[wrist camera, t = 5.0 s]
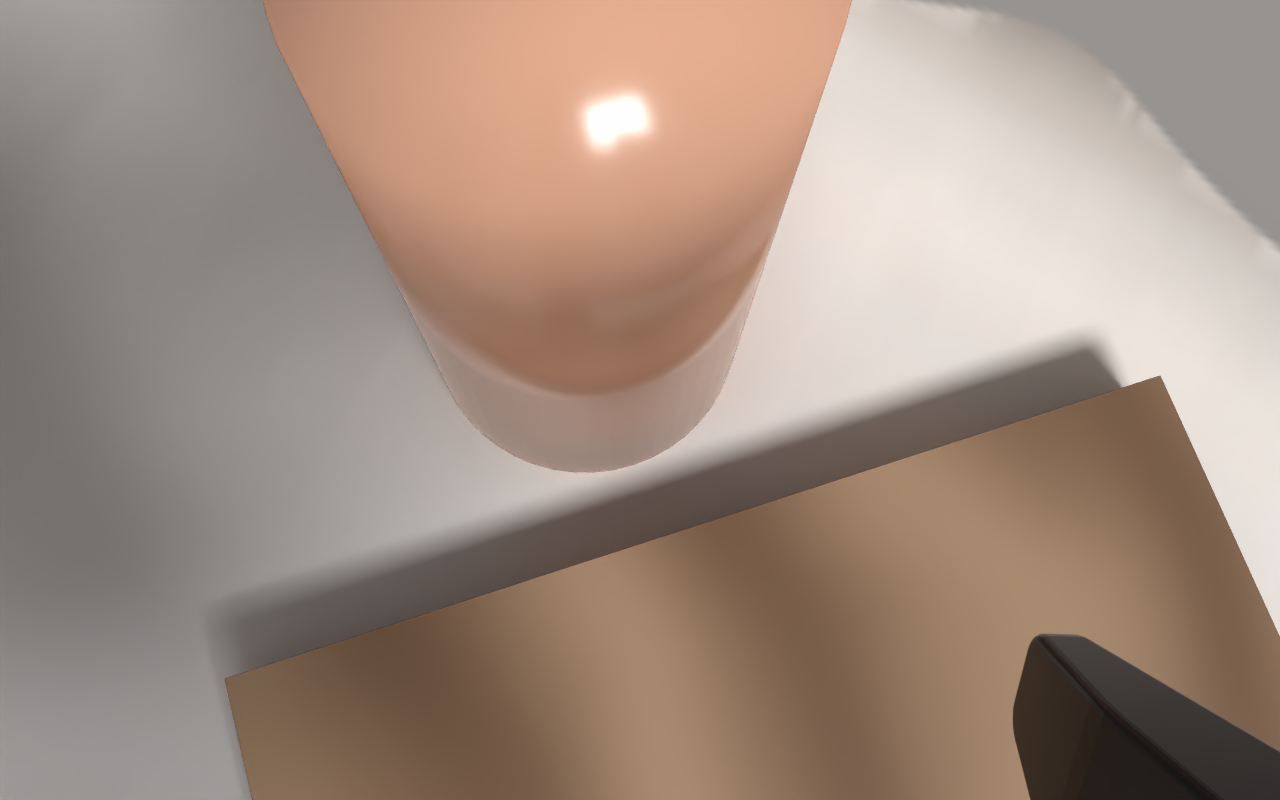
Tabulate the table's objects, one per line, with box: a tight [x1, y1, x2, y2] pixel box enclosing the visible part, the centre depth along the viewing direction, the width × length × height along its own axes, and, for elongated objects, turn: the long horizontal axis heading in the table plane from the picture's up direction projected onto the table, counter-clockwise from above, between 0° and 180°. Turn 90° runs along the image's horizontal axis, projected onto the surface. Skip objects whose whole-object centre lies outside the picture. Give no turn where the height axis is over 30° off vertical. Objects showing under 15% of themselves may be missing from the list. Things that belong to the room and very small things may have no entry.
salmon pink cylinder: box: [263, 0, 852, 472], centre depth 19 cm, size 6×6×13 cm
